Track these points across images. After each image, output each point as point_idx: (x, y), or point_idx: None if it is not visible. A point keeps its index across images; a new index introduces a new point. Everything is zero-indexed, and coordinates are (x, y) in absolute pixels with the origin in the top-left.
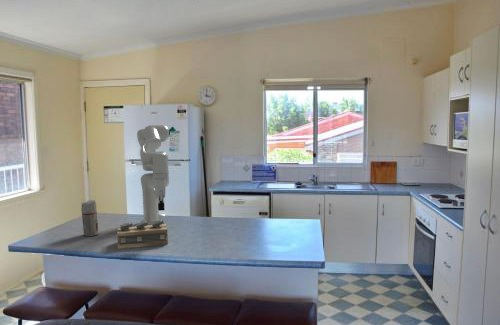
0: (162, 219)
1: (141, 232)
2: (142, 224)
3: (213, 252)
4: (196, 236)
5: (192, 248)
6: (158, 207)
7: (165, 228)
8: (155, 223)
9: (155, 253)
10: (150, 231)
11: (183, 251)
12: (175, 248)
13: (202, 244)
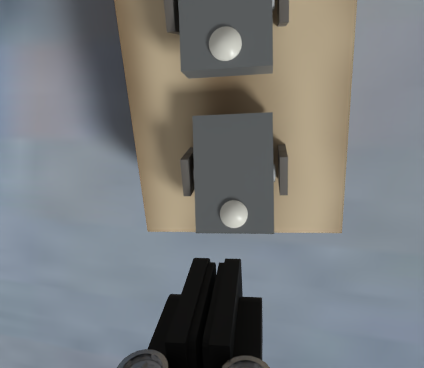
0: (268, 232)
1: (120, 7)
2: (178, 8)
3: (21, 355)
4: (286, 343)
5: (81, 293)
6: (185, 287)
7: (173, 220)
8: (203, 153)
9: (16, 112)
10: (131, 94)
11: (41, 250)
12: (91, 220)
13: (136, 341)
